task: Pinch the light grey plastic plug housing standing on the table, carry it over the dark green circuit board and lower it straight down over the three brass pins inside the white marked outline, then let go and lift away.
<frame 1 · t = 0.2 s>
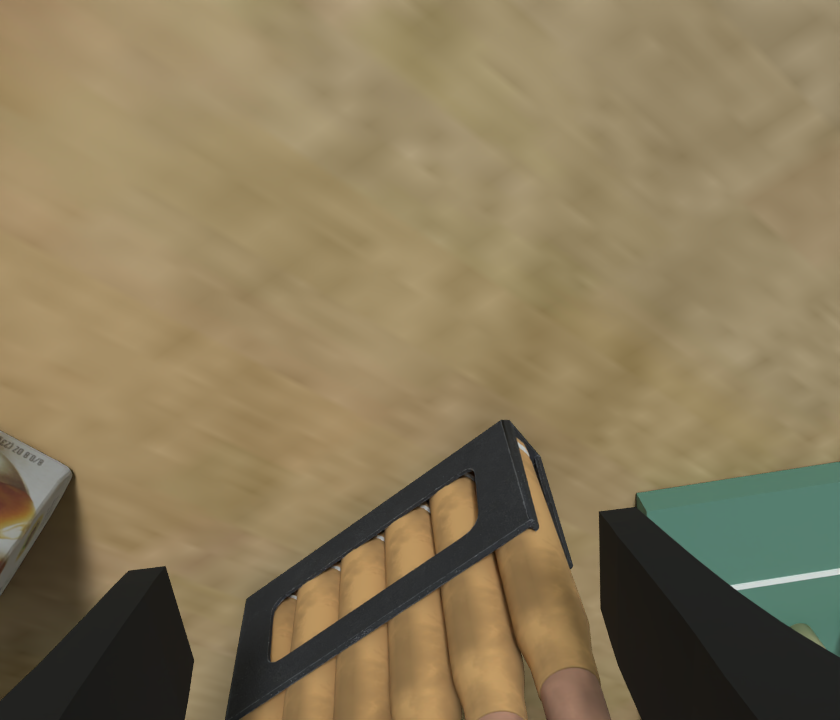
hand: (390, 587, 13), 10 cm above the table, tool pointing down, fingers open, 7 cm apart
ammunition clip: (388, 526, 25), on the table
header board: (839, 605, 27), on the table
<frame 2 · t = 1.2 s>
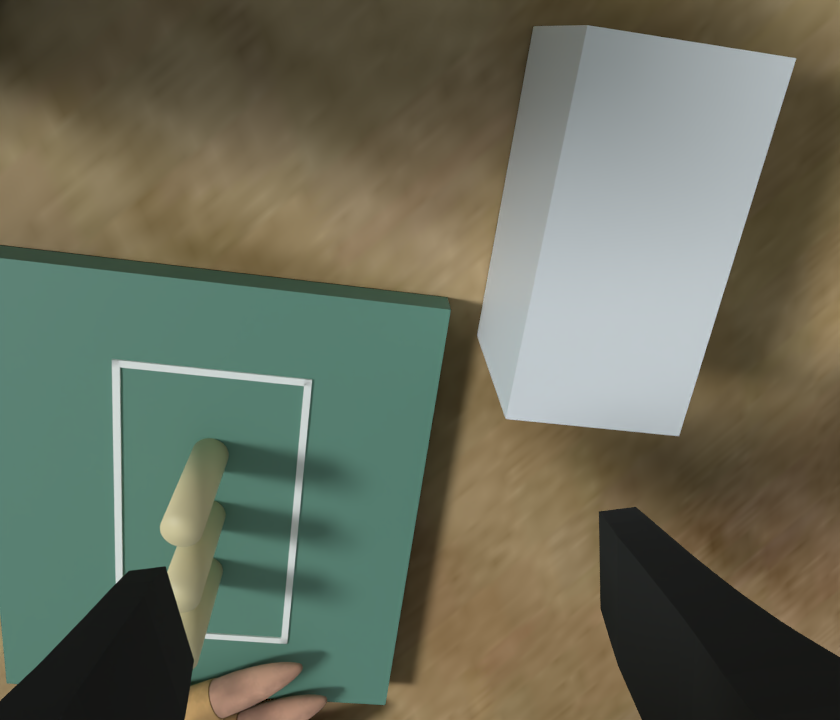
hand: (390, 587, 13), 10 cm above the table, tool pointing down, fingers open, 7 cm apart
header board: (214, 494, 23), on the table
plug housing: (577, 202, 20), on the table
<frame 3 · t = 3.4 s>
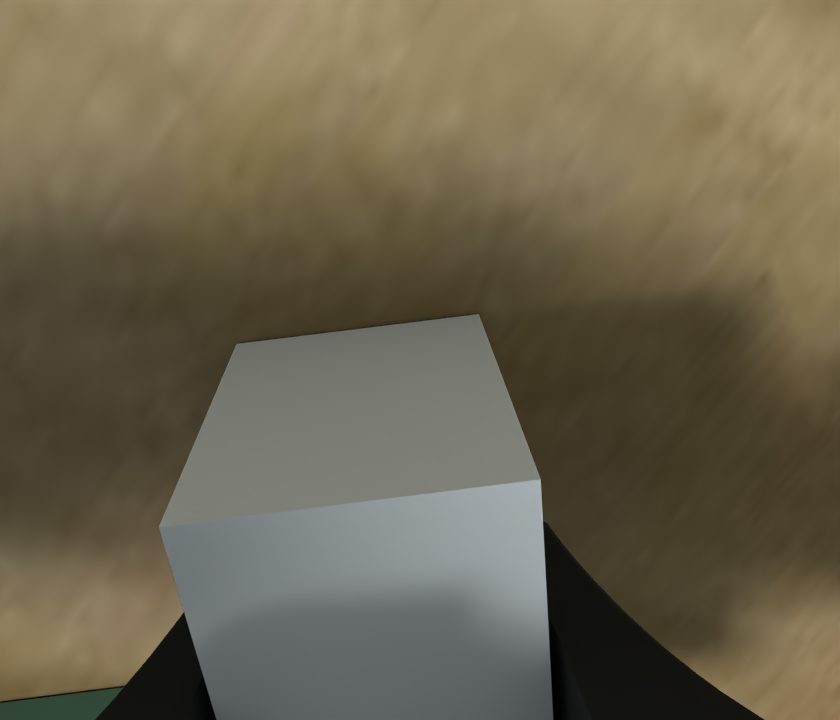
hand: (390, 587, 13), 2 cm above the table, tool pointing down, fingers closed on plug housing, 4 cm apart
plug housing: (388, 528, 14), on the table, touching gripper
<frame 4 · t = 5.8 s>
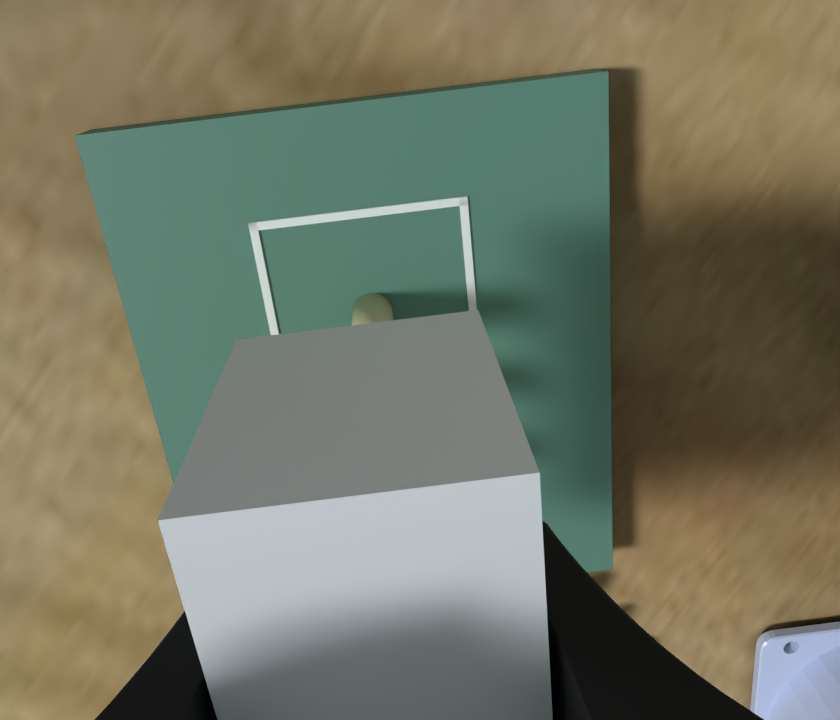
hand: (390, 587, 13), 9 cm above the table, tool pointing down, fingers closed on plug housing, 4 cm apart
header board: (382, 368, 21), on the table
plug housing: (387, 525, 14), point 7 cm above the table, touching gripper
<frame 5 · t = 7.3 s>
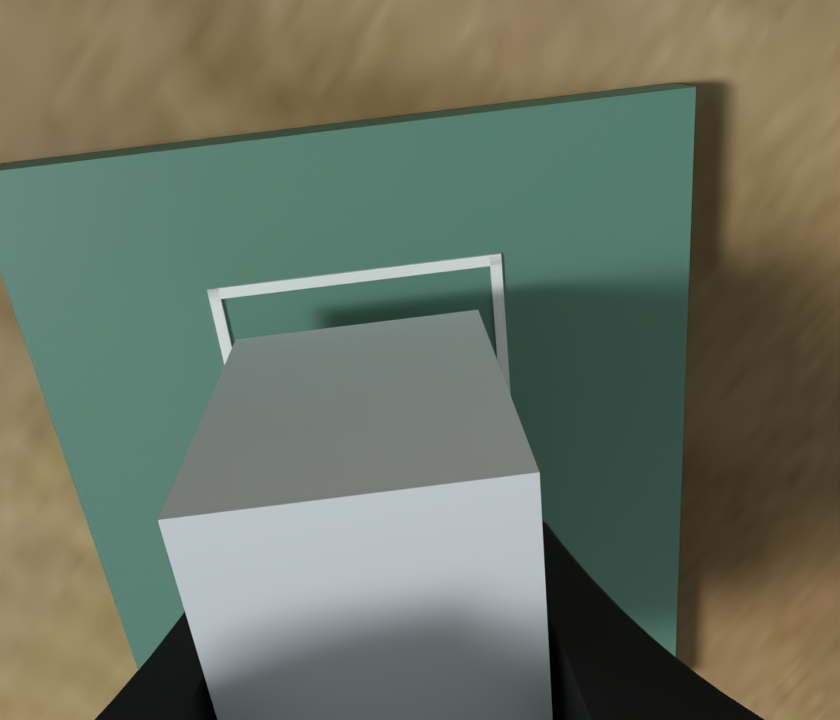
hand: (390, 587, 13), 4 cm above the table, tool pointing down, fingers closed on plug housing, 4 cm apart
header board: (386, 463, 16), on the table
plug housing: (387, 524, 14), point 2 cm above the table, touching gripper
when the fingers open (3 cm above the table, at t = 8.4 s): plug housing stays where it is, resting on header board.
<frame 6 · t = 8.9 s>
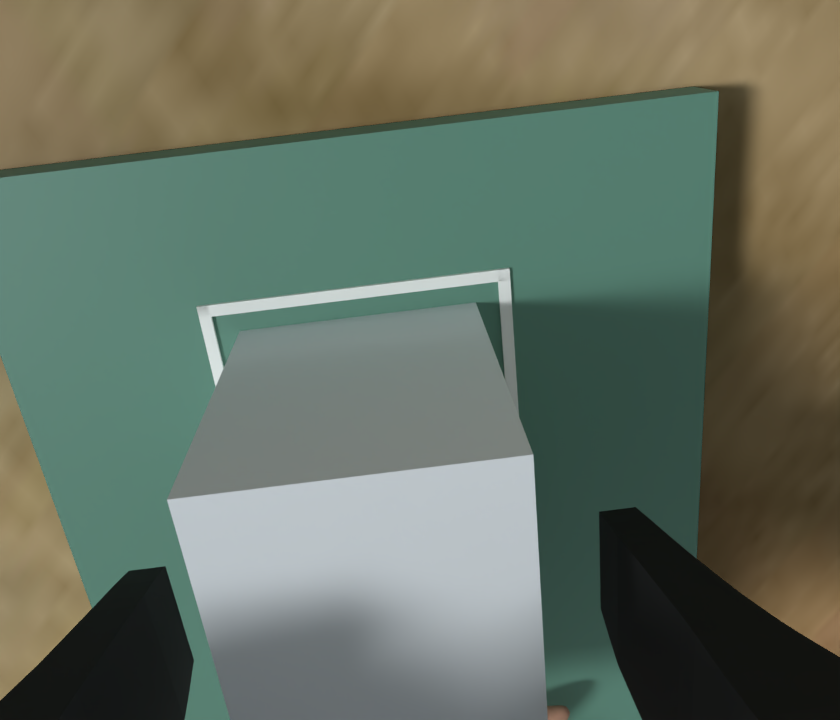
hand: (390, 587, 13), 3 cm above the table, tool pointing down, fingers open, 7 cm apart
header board: (387, 487, 15), on the table
plug housing: (387, 513, 14), point 1 cm above the table, touching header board
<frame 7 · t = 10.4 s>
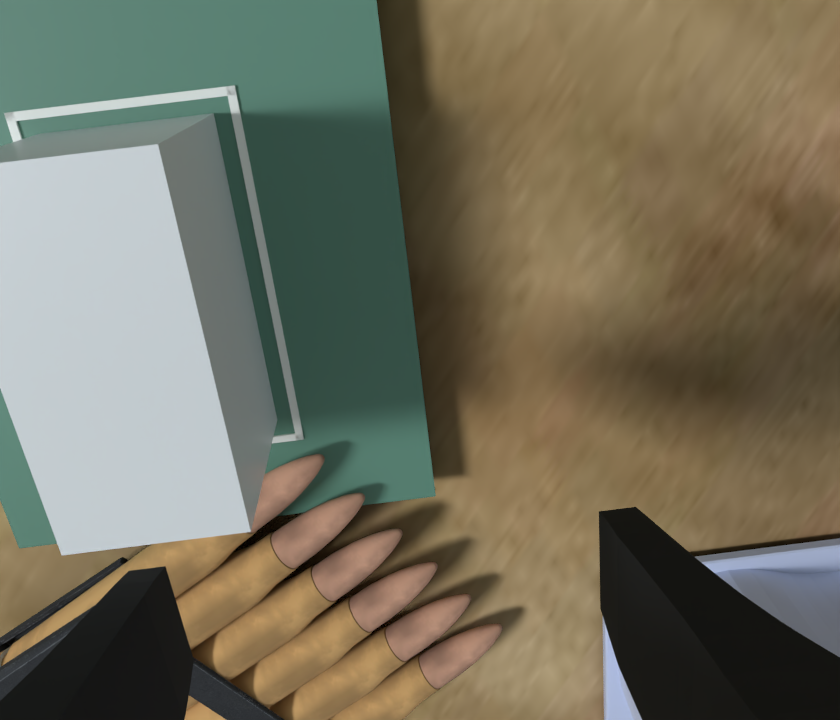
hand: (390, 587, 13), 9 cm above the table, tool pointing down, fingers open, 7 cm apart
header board: (178, 279, 20), on the table
plug housing: (168, 289, 19), point 1 cm above the table, touching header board
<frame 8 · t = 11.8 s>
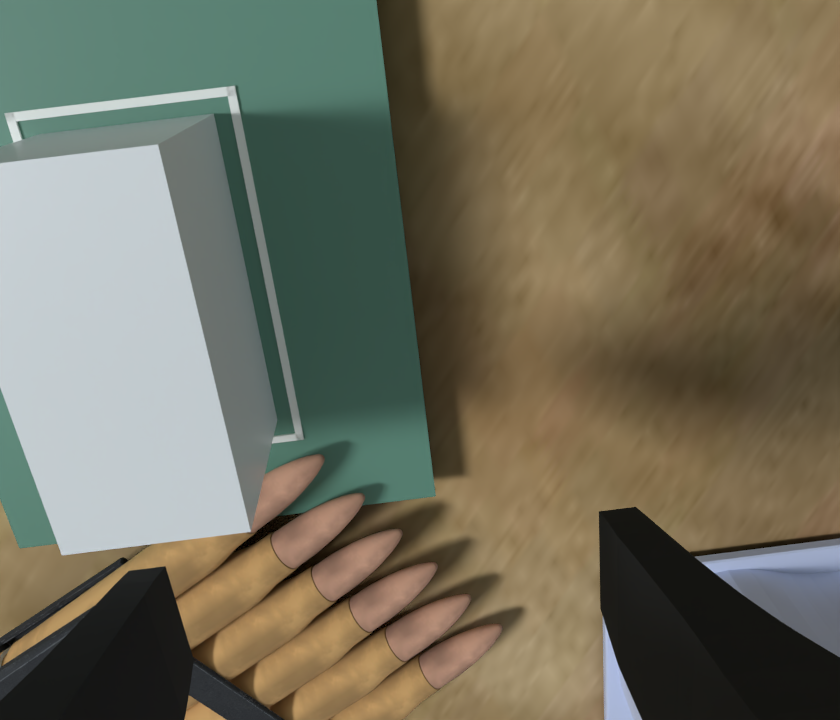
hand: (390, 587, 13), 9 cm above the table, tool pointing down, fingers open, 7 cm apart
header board: (178, 279, 20), on the table
plug housing: (168, 289, 19), point 1 cm above the table, touching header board
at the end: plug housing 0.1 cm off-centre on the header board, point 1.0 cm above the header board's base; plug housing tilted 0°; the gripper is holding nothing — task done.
